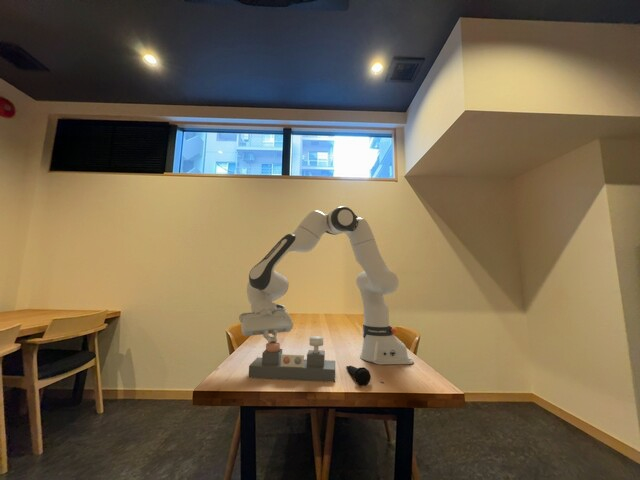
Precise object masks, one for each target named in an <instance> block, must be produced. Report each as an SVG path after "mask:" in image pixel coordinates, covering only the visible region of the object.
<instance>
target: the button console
mask: <svg viewBox="0 0 640 480" xmlns="http://www.w3.org/2000/svg"><path fill="white" fill-rule="evenodd" d="M325 355H326V352H325V350H319V353H318V354H317V353H314V349H313V350H312V349H309V350H308V352H307V353H306V359H305V354H290V353H289V354H287V353H283V348H280V351H279V352H275V353H269V352H266V349H265V350H263V351H262V355H261V356H262V357H256V358H255V359H254V360H253V361H252V362H251V363H250V364H249V366H248V376H247V377H248V379H265V380H267V379H268V380H282V381H283V380H285V381H286V380H287V381H288V380H289V381H306V382H307V381H309V382H330V383H335V382H336V360H327V359H326V360H325V358H326V357H325Z"/></svg>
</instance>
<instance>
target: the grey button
mask: <svg viewBox="0 0 640 480" xmlns="http://www.w3.org/2000/svg"><path fill="white" fill-rule="evenodd" d="M323 345H324V337H323V336H318V335H317V336H316V335H315V336H314V335H313V336H310V337H309V346H312V347H313V350H314V353H317V354H318V353H319V349H320V347H322V346H323Z"/></svg>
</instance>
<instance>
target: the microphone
mask: <svg viewBox="0 0 640 480" xmlns="http://www.w3.org/2000/svg"><path fill="white" fill-rule="evenodd" d="M345 368H346V370H347V372H349V374H351V375H352V376H353V378H354V381H355V383H356V384H358V385H359V386H367V385H368V384H369V383H370V382H371V378H372V376H371V372H370V370H369V369H367V368H366V367H355V366H354V365H346V367H345Z"/></svg>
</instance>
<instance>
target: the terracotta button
mask: <svg viewBox="0 0 640 480" xmlns="http://www.w3.org/2000/svg"><path fill="white" fill-rule="evenodd" d="M280 349H281V343H279V342H276V343H269V344H268V342H267V343H266V344H265V350H266V352H269V353H275V352H279V351H280Z"/></svg>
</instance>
